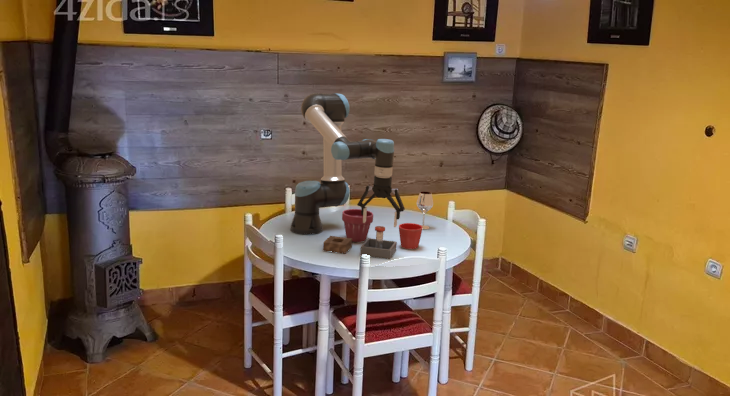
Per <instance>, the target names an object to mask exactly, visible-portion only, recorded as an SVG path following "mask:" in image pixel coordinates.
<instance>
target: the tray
mask: <svg viewBox="0 0 730 396" xmlns="http://www.w3.org/2000/svg"><path fill="white" fill-rule="evenodd" d="M397 244H398V243H397V241H394V240H386V239H383V245H382V249H379V248H375V246H376V238H371V237H367V238H366V240H365V241H363V243H362V244H361V246H360V253H359V254H360V255H362V254H367V255H370V256H371V257H370V258H375V259H382V260H391V259H392V257H393V255H394V254H395V253H396V251H397Z"/></svg>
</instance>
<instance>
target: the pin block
mask: <svg viewBox="0 0 730 396" xmlns="http://www.w3.org/2000/svg"><path fill="white" fill-rule="evenodd" d="M322 245H323V247H322V251H323V250H324V251H323V252H327V251H332V252H331V253H335V252H337V253H336V254H342V253H343V255H345V254H347V253H348V250H350V249H351V248H352V245H353V242H352V238H346V237H343V236H335V235H329V237H328V238H326V239H325V240H324V241H323V244H322Z"/></svg>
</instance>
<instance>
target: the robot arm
mask: <svg viewBox="0 0 730 396" xmlns="http://www.w3.org/2000/svg"><path fill="white" fill-rule="evenodd" d="M348 100H349V99H347V97H346V96H345V94H342V93H335V92H333V93H331V92H330V93H329V92H328V93H327V92H326V93H323V92H322V93H321V92H320V93H318V92H317V93H310V94H309V95H307V96H306V97H305V98H304V99H303V100H302V103H301V107H300V112H301V114H302V117H303V118H304V119H305V121H306V122H307V123H309V124H312V126H313V128H315V130H316V131H318V133H320V135H321V136H322V137H323V138H322V139H323V140H322V141H323V176H322V177H321V178H320V181H319V180H304V181H300V182H299V183H297V184H296V186H295V190H294V215H293V218H292V221H291V223H290V231H291V232H292V233H295V234H297V235H316V234H320V233H322V232H323V224H322V220H321V216H320V209H323V208H330V207H331V208H332V207H339V206H344V205H346V204H347V202H348V200H349V198H350V193H351V192H350V191H351V190H350V187H349V186H350V185H349V184H348V182H346V180H345V177H344V176H343V175H342V170H343V169H342V161H346V160H347V161H348V160H357V159H358V160H359V159H360V160H361V159H372V160H374V172H373V173H374V177H373V186H372V185H370V184H367V185H366V186H365V191H364V192H363V194H362V195H361V198H360V199H359V200H358V203H357V207H360V208H361V215H363V223H365V222H366V215H367V211H368V210H367V209H368V206H367V205H368V204H369V203H370V202H371V201H372V200H373V199H374V198H375V197H377V198H379V199H387V200H388V202H389V203H390V204H391V206H392V207H393V208H394V210H395V212H394V218H393V228H396V227H397V225H398V220H400V219H401V212H404V211H405V209H406V208H405V205H404V203H403V201H402V198H401V195H400V192H399V188H397V187H396V188H393V187H392V182H393V181H392V180H393V177H392V176H393V170H394V169H393V168H394V165H393V164H394V155H395V142H394V140H392V139H387V138H378V139H377V140H374V139H368V138H365V139H364V138H363V139H362V140H352V141H351V140H350V139H349V138H348V137H347V135H345V134H344V133H343V131H342V126H343V124H344V123H345V119H346V118H348V117H349V115H350V103H349V101H348ZM370 191H372V192H373V194H372V195H371V196H370V197H369V198H368V199H367V200H366V201H365V202H364V200H365V199H366V197H367V195H369V194H368V193H369V192H370ZM391 193H393V195H394V197H395V199H396V200H395V199H394V198H393V197H392V195H391ZM396 201H397V202H396ZM363 202H364V203H363Z"/></svg>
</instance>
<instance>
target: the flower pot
mask: <svg viewBox="0 0 730 396" xmlns="http://www.w3.org/2000/svg"><path fill="white" fill-rule="evenodd" d="M421 225H422V224H418V223H412V222H406V223H401V224H399V225H398V231H399V232H398V233H399V240H400V247H401V248H402V249H406V250H416V249H418V248H419V244H420V240H421V237H422V233H423V229H422V228H423V227H422V226H421Z"/></svg>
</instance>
